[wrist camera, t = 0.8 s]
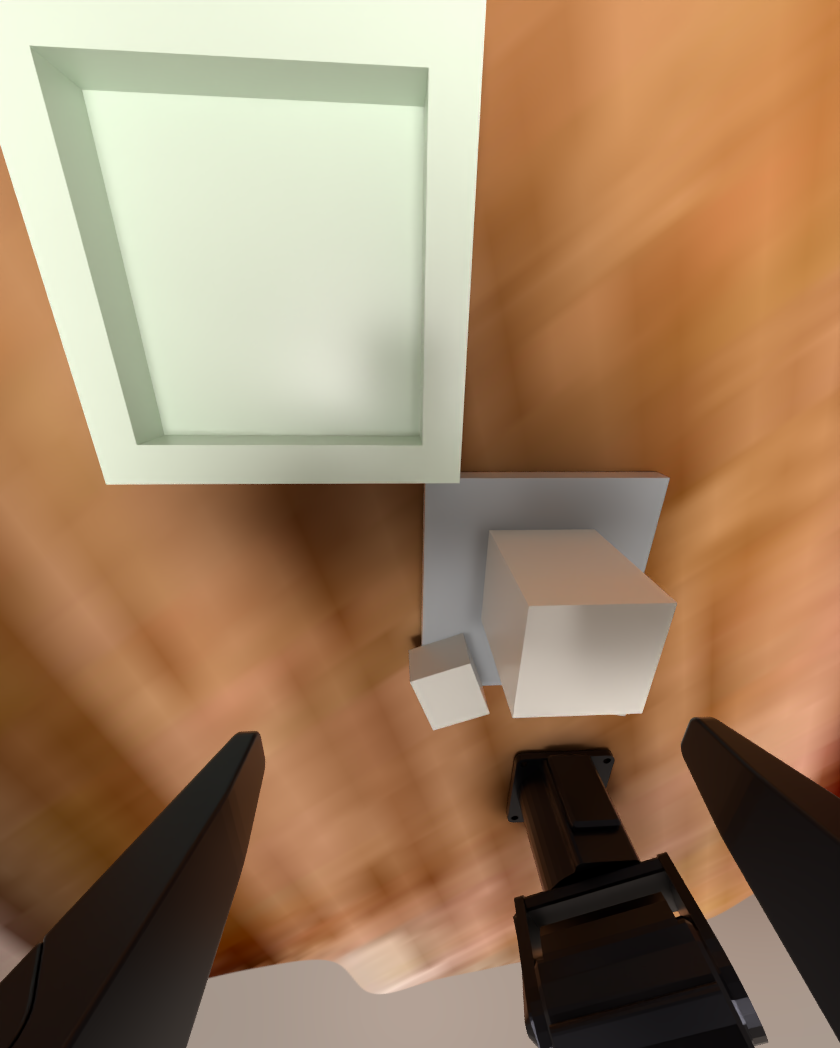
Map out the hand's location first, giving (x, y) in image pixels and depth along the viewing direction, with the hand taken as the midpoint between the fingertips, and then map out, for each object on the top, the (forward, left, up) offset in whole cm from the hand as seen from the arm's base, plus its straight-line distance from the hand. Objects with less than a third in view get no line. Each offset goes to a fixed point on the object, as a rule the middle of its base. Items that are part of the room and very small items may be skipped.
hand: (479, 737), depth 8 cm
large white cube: (-3, -5, -11) cm, 12 cm away
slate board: (-4, -5, -12) cm, 13 cm away
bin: (+9, +6, -12) cm, 16 cm away
